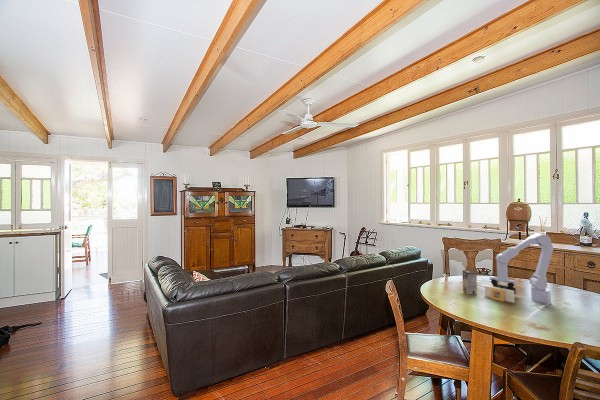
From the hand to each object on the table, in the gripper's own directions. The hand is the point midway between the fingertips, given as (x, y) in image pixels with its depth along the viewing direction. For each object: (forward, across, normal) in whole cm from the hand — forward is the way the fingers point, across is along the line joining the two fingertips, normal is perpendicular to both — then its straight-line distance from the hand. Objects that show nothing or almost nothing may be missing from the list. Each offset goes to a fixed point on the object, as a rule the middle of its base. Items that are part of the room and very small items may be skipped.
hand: (502, 292), depth 191 cm
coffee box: (+5, -18, -6) cm, 20 cm away
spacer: (+3, 0, -9) cm, 9 cm away
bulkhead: (+4, 0, -6) cm, 7 cm away
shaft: (+1, 0, -2) cm, 2 cm away
